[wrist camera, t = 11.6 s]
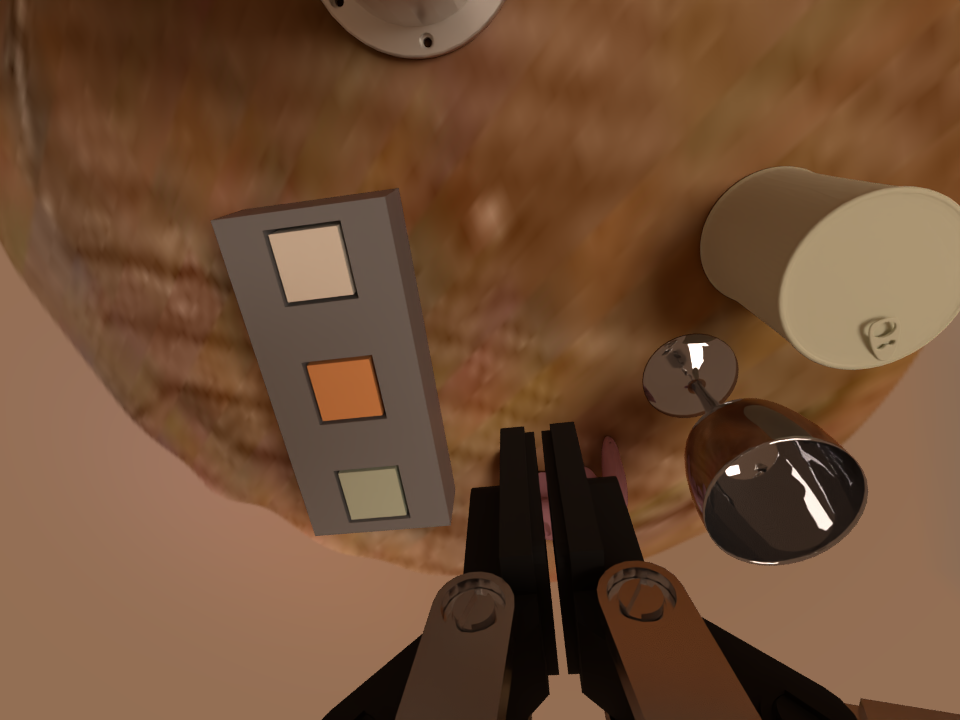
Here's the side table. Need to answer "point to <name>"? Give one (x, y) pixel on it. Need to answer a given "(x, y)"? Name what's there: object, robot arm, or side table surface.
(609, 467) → the video game controller
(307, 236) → the button cream
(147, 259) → the side table surface
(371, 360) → the button orange
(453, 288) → the side table surface
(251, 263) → the button panel
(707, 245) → the can
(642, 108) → the side table surface
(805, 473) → the wine glass
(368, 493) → the button sage
